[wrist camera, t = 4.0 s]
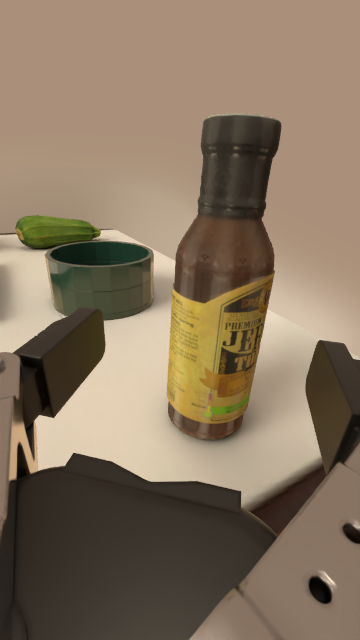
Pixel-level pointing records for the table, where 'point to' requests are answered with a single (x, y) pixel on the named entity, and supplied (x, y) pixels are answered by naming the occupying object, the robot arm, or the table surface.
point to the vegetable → (53, 231)
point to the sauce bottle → (222, 279)
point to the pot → (101, 277)
